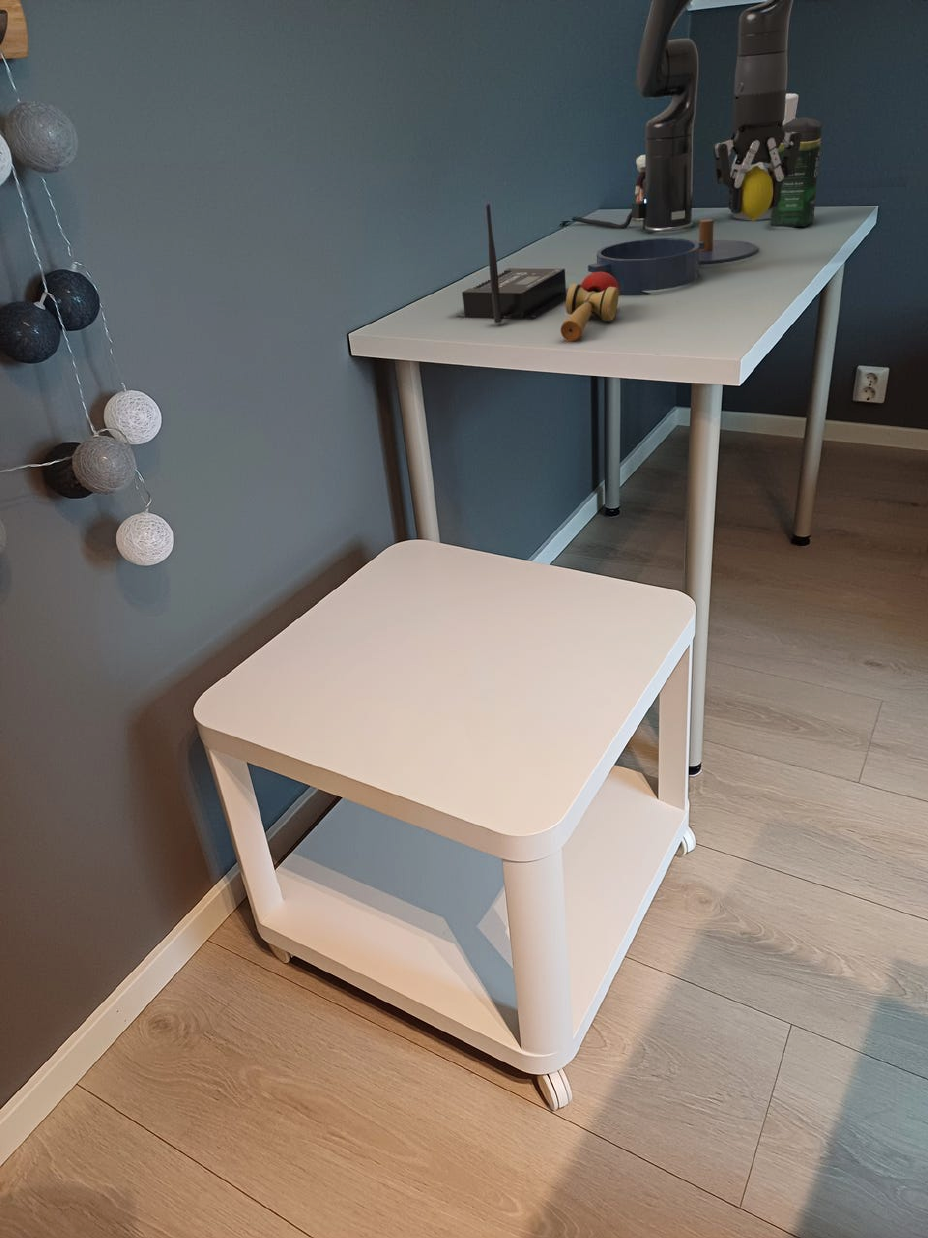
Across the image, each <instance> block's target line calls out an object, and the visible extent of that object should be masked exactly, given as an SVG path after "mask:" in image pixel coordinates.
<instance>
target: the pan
mask: <svg viewBox="0 0 928 1238" xmlns="http://www.w3.org/2000/svg"><path fill="white" fill-rule="evenodd" d="M703 248H705V242H702V241H699V240H692V239H685V238H674V237H662V238H661V237H660V238H659V237H658V238H644V239H643V238H642V239H633V240H628V241H621V242H617V243H612V244H610V245H607V246H605V247H601V248H600V249H599V250H597V252H596V262H595V263H591V264H588V265H587V272H590V273H594V272H606V273H609V274H610V275H612V276H613V277H614V278H615V280H616V281H617V283H618V286H619V295H623V296H624V295H627V296H630V295H631V296H636V295H637V296H642V295H651V293H650V291H661V290H665V289H666V290H668V289H673V288H677V287H682V286H685V285H688V284H691V283H693V282H695V281H696V280H697V279H699V277H700V275H699V274H700V264H699V249H703Z"/></svg>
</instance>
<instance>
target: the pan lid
mask: <svg viewBox="0 0 928 1238" xmlns="http://www.w3.org/2000/svg"><path fill="white" fill-rule="evenodd" d="M714 221H715V220H714V219H712V218H704V219H700V220H699V223H698V225H699V228H698V230H699V231H698V241H702V242H705V248H703V249H699V265H709V264H719V263H727V262H733V261H737V260H742V259H745V258H748V257H750V256H753V255H755V254H756V252H757V249H758V248H757V247H758V246H757V245H756V244H754V243H753V242H748V241H743V240H734V239H714V226H715V225H714Z"/></svg>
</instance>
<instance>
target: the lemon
mask: <svg viewBox="0 0 928 1238" xmlns="http://www.w3.org/2000/svg"><path fill="white" fill-rule="evenodd" d="M740 188H742V208H741V213H742V214H744V215H745V216H747V217H749V218H750V220H749V221H751V222H755V221H757V220H756V219H757V218H758V217H759V216H760V215H762V214H764V213H765V212H766V211H767V210H768V208H769V206H770V204H771V202H772V198H773V183H772V179H771V177H770V175H769V174H768V173H767V172H766V171H765V170H763V169H760V168H759V166H755V167H753V169H751V170H749V171H748V172H747V173H746V174H745V177H744V179H743V182H742V184H741V186H740Z"/></svg>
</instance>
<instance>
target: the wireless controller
mask: <svg viewBox="0 0 928 1238" xmlns="http://www.w3.org/2000/svg"><path fill="white" fill-rule="evenodd" d="M485 209H486V220H487V231H488V266H489V276H490V279H487V280H485V281H484V282H481V283H480V284H478V285H476V286H475V287H474V286H473V287H472V288H470V287H469V288H467V289H466V290H464V291H462V293H461V294H462V303H463V311H462V312H460V313H458V314H457V315H456V317H457V318H482V319H493V321H494V324H500V323H502V322H503V321H502V320H503V319H510V320H511V319H512V320H536V319H538V318H539V317H540V316H542V315H544V314H545V313H546V312H548V311H550V310H552V309H553V308H555V307H556V306H558V305H559V304H561V303H563V302H564V301H566V298H567V293H568V292H567V287H566V286H567V285H566V284H567V283H566V282H567V281H566V268H522V267H521V268H519V267H518V268H513V267H512V268H506V269H505V270H503V272H501V273H498V263H497V253H496V248H495V242H494V236H493V235H494V234H493V226H492V225H493V224H492V212H491V205H490V204H489V203H487V204H486V205H485Z"/></svg>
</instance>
